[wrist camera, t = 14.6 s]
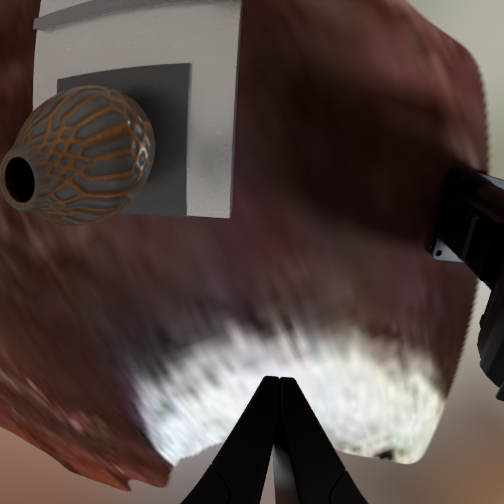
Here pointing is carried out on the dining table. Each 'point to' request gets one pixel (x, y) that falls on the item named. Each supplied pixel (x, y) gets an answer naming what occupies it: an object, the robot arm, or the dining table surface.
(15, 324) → the dining table surface
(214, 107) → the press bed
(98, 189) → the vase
